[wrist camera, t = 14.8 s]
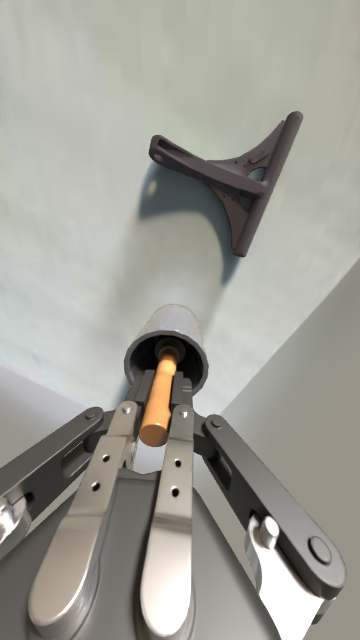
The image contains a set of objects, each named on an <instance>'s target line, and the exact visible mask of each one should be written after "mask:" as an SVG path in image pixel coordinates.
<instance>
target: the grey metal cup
mask: <svg viewBox="0 0 360 640" xmlns="http://www.w3.org/2000/svg"><path fill="white" fill-rule="evenodd" d="M159 335H174V336H176V337H179V338H182V339H185V340H186V353H185V357H184V359H183V360H182V361H181V362H180V363H178V364H177V365H176V371H179V372H183V378H189V379H190V381H191V382H192V396H194V395H195V394H196V393H197V392H198V391H199V390H200V389H201V388H202V387H203V385H204V383H205V381H206V379H207V377H208V368H209V365H208V360H207V356H206V352H205V348H204V344H203V340H202V335H201V331H200V327H199V323H198V320H197V318H196V316H195V315H194V314H193V312H192V311H190V310H189V309H188V308H186V307H184V306H181V305H176V304H170V305H165V306H163V307H161V308H159V309H158V310H156V311H155V312H154V314H153V315H152V316H151V317H150V319H149V320H148V322H147V323H146V324H145V326H144V327H143V329H142V330H141V331H140V333H139V334H138V336H137V337H136V338H135V340H134V341H133V343H132V344H131V345H130V347H129V348H128V350H127V353H126V356H125V359H124V370H125V375H126V377H127V379H128V381H129V383H130V385H131V386H132V385H133V382H134V380H135V378H137V377H138V376H139V375H142V376H143V375H144V373H145V370H155V374H156V370H157V367H158V363H159V360H158V359H157V358H156V356H155V352H154V349H155V346H156V343H157V340H158V338H159Z"/></svg>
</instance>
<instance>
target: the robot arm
mask: <svg viewBox="0 0 360 640" xmlns="http://www.w3.org/2000/svg"><path fill="white" fill-rule="evenodd" d="M154 377H155V370H145V373H144V375H143V376H142V375H139V376H138V377H137V378H135V380H134V382H133V385H132V386H131V388H130V391H129V393H128V395H127V397H126V399H125V401H124V402H122V403H121V404H119V405H118V407H117V409H115V410H112V411H108V412H103V410H102V408H100V407H92V408H89V409H87V410H85V411H84V412H82V413H81V414H80V415H78V416H76V417H75V418H74V419H72V420H71V421H69V422H68V423H66V424H65V425H63V426H62V427H60V428H59V429H57V430H56V431H55V432H53V433H52V434H50V435H49V436H47V437H46V438H44V439H43V440H41V441H40V442H39V443H37V444H35V445H34V446H33V447H31V448H30V449H28V450H27V451H25V452H24V453H22V454H21V455H19V456H18V457H16V458H15V459H14V460H12V461H11V462H9V463H8V464H6V465H5V466H3V467H2V468H0V640H302V638H303V636H304V635H305V632H306V631H307V629H308V627H309V625H310V624H311V625H313V624H317V623H318V622H319V620H320V619H321V618H322V616H323V615H324V613H325V612H326V610H327V609H328V608H329V606H330V605H331V604H332V602H333V601H334V599H335V598H336V597H337V595H338V594H339V592H340V591H341V590H342V588H343V587H344V585H345V583H346V581H347V571H346V567H345V563H344V561H343V558H342V556H341V554H340V552H339V551H338V549H337V547H336V546H335V544H334V543H333V542H332V540H331V539H330V538H329V537H328V536H327V535H326V533H325V532H324V531H323V530H322V529H321V528H320V527H319V525H318V524H317V523H316V522H315V521H314V520H313V519H312V518H311V517H310V515H309V514H308V513H307V512H306V511H305V510H304V509H303V507H302V506H301V505H300V504H299V503H298V502H297V501H296V499H295V498H294V497H293V496H292V495H291V494H290V493H289V492H288V490H287V489H286V488H285V487H284V486H283V485H282V484H281V483H280V482H279V480H278V479H277V478H276V477H275V476H274V475H273V473H272V472H271V471H270V470H269V469H268V468H267V467H266V466H265V465H264V463H263V462H262V461H261V460H260V459H259V458H258V457H257V456H256V454H255V453H254V452H253V451H252V450H251V449H250V447H249V446H248V445H247V444H246V443H245V442H244V441H243V440H242V438H241V437H240V436H239V435H238V434H237V433H236V432H235V431H234V429H233V428H232V427H231V426H230V425H229V424H228V423H227V421H226V420H224V418H223V417H221V416H219V415H215V414H213V415H209V416H208V417H207V418H205V417H202V416H200V415H198V414H197V413H196V412H195V411H194V409H193V402H192V382H191V381H190V379H189V378H183V372H179V371H175V373H174V382H173V391H172V400H171V416H172V419H171V428H170V434H169V437H168V439H167V444H166V451H165V456H164V461H163V467H162V470H161V471H156V472H152V473H147V474H139V473H137V472H134V471H132V469H133V464H134V459H135V454H136V449H137V444H138V440H139V429H140V426H141V422H142V419H143V415H144V412H145V409H146V405H147V402H148V398H149V395H150V391H151V388H152V384H153V381H154ZM82 441H83V442H82ZM80 442H82V443H80ZM79 443H80V444H79ZM78 444H79V445H78ZM77 445H78V446H77ZM75 446H77V447H75ZM74 447H75V448H74ZM73 448H74V449H73ZM72 449H73V450H72ZM71 450H72V451H71ZM69 451H71V452H70V453H68V452H69ZM194 452H195V453H197V454H199V455H201V456H202V458H203V460H204V462H205V463H206V465H207V467H208V469H209V470H210V472H211V474H212V475H213V477H214V479H215V480H216V482H217V484H218V485H219V487H220V489H221V490H222V492H223V494H224V496H225V497H226V499H227V501H228V502H229V504H230V506H231V507H232V509H233V511H234V512H235V514H236V516H237V517H238V519H239V521H240V523H241V524H242V526H243V527H244V529H245V531H246V536H245V550H246V555H247V557H248V560H249V562H250V565H251V567H252V570H253V572H254V576H255V580H256V589H255V587H254V586H253V584H252V582H251V580H250V579H249V577H248V576H247V574H246V572H245V570H244V569H243V567H242V565H241V564H240V562H239V560H238V559H237V557H236V555H235V554H234V552H233V550H232V548H231V547H230V545H229V543H228V542H227V540H226V539H225V537H224V535H223V533H222V532H221V530H220V528H219V527H218V525H217V523H216V522H215V520H214V518H213V517H212V515H211V513H210V512H209V510H208V508H207V506H206V505H205V503H204V501H203V500H202V498H201V496H200V495H199V493H198V492H197V491H196V490H195V488H194V487H193V453H194ZM67 453H68V454H67ZM66 454H67V455H66ZM65 455H66V456H65ZM64 456H65V457H64ZM86 468H87V469H86ZM85 469H86V472H85V474H84V476H83V478H82V481H81V483H80V485H79V488H78V489H77V490H76V491H75V492H74V493H73V494H72V495H71V496H70V497H69V498H68V499H67V500H66V501H65V502H63V503H62V504H61V505H60V506H59V507H58V508H57V509H56V510H55V511H54V512H52V513H51V514H50V515H49V516H48V517H47V518H46V519H45V520H44V521H43V522H41V523H40V524H39V525H38V526H37V527H36V528H35V529H34V530H33V531H32V532H31V533H29V534H28V535H27V536H26V537H25V535H26V533H27V532H28V530H29V528H30V525H31V522H32V521H33V520H34V519H35V518H36V517H37V516H38V515H39V514H40V513H41V512H43V511H44V510H45V508H47V507H48V506H49V504H51V503H52V502H53V501H54V500H55V499H56V498H57V497H58V496H59V495H60V494H61V493H62V492H63V491H64V490H65V489H66V488H67V487H68V486H69V485H70V484H71V483H72V482H73V481H74V480H75V479H76V478H77V477H78V476H79V475H80V474H81V473H82V472H83V471H84V470H85ZM24 537H25V538H24ZM256 590H257V591H256Z"/></svg>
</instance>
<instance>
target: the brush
mask: <svg viewBox="0 0 360 640" xmlns="http://www.w3.org/2000/svg"><path fill="white" fill-rule="evenodd" d="M154 352H155V356H156V358H157V359H158V360H159V363H158V367H157V370H156V374H155V377H154V381H153V384H152V388H151V391H150V395H149V398H148V402H147V405H146V409H145V412H144V415H143V419H142V422H141V426H140V429H139V438H140V440H141V441H142V442H143V443H144V444H146V445H148V446H151V447H159V446H163V445H165V444H166V443H167V439H168V437H169V434H170V428H171V419H172V416H171V400H172V391H173V382H174V373H175V371H176V365H177V364H178V363H180V362H181V361H182V360H183V359H184V357H185V353H186V340H185V339H182V338H179V337H176V336H174V335H159V338H158V340H157V343H156V346H155V349H154Z"/></svg>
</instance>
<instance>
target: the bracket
mask: <svg viewBox="0 0 360 640" xmlns="http://www.w3.org/2000/svg"><path fill="white" fill-rule="evenodd" d="M302 120H303V114H302V113H301V112H299V111H295V112H292V113H290V114H289V115H288V116H287V118H286V121H284V120H282V121H281V123H280V124H279V125H278V126H277V127H276V129H275V130H274V131H273V132H272V133H271V134H270V135H269V136H268V137H267V138H266V139H265V140H264V141H263V142H262V143H260V144H259V145H258V146H257V147H255V148H254V149H252V150H251V151H249V152H247V153H245V154H243V155H242V156H240V157H237V158H233V159H228V160H207V161H205V160H203V159H201V158H199V157H197V156H195V155H193V154H192V153H190V152H188V151H186V150H185V149H183V148H181V147H179V146H178V145H176V144H174V143H173V142H171V141H169V140H168V139H166V138H165V137H163V136H161V135H155V136H153V137H152V140H151V144H150V149H149V156H150V157H151V158H152V160H154V161H155V162H156V163H158V164H160V165H162V166H165V167H167V168H170V169H172V170H175V171H178V172H180V173H183V174H185V175H188V176H191V177H193V178H196V179H198V180H201V181H202V182H204V183H205V184H206V185H207V186H208V187H209V188H210V189H211V190H212V191H213V192H214V193H215V194H216V195H217V197H218V198H219V199H220V201H221V202H222V204H223V206H224V209H225V211H226V213H227V216H228V219H229V223H230V228H231V238H232V249H234V252H233V254H234V255H237V256H240V257H245V256H246V254H247V251H248V249H249V247H250V244H251V242H252V239H253V237H254V235H255V232H256V230H257V228H258V225H259V223H260V220H261V218H262V216H263V213H264V211H265V208H266V206H267V204H268V201H269V199H270V196H271V194H272V192H273V189H274V187H275V184H276V182H277V180H278V177H279V175H280V173H281V170H282V168H283V165H284V163H285V161H286V158H287V156H288V153H289V151H290V149H291V146H292V144H293V141H294V139H295V137H296V134H297V132H298V130H299V127H300V125H301V122H302ZM258 168H264V169H266V172H265V174H264V177H263V179H262V181H258V180H254V179H251V178H248V177H247V176H248V175H249V173H250V172H252V171H253V170H255V169H258ZM240 196H243V197H245V198H248V199H251V200H253V204H252V207H251V210H250V212H249V214H248V213H246V212H245V211H244V210H243V209H242V207H241V204H240Z"/></svg>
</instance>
